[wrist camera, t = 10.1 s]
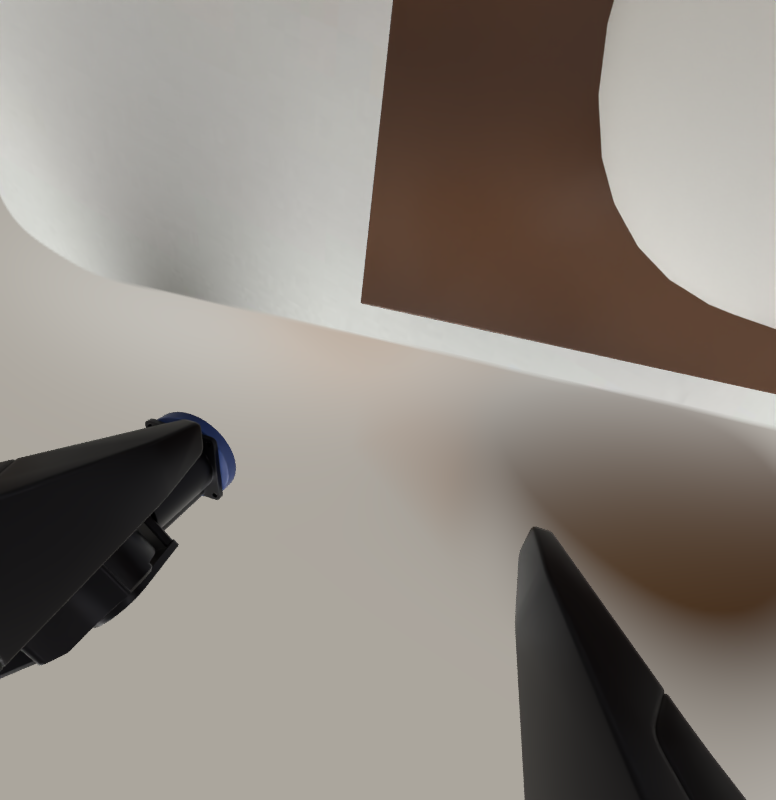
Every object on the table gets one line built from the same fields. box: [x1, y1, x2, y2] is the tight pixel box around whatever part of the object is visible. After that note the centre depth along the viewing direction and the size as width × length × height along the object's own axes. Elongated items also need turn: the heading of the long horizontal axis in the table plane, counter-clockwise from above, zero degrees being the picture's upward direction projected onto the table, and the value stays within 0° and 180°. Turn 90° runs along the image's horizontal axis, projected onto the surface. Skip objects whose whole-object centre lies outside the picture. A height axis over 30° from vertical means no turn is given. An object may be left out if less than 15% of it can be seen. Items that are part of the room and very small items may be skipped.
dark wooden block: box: [361, 0, 776, 394], centre depth 12 cm, size 12×18×6 cm, turn 81°
